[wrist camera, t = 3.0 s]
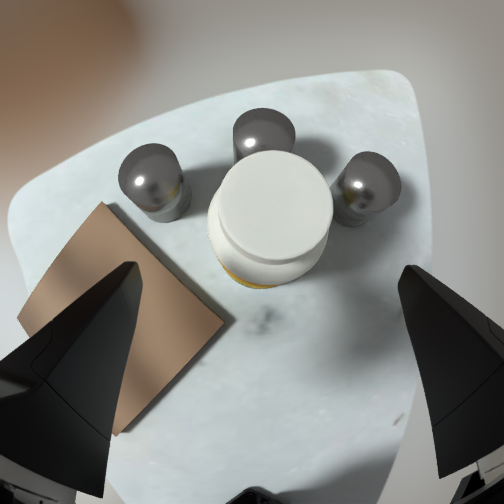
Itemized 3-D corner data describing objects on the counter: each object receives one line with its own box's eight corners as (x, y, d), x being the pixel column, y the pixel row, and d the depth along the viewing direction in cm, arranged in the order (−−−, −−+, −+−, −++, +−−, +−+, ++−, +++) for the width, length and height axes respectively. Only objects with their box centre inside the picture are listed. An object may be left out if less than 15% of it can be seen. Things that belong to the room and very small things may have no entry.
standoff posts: (373, 227, 20) (404, 209, 15) (139, 222, 19) (113, 202, 15) (364, 153, 21) (388, 123, 16) (150, 146, 20) (132, 112, 16)
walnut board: (119, 432, 16) (115, 436, 16) (22, 317, 17) (16, 317, 17) (225, 321, 18) (224, 322, 17) (106, 204, 19) (101, 201, 18)
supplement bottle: (219, 208, 19) (202, 130, 10) (298, 210, 20) (344, 137, 10) (217, 289, 18) (192, 278, 9) (299, 290, 19) (356, 280, 9)
